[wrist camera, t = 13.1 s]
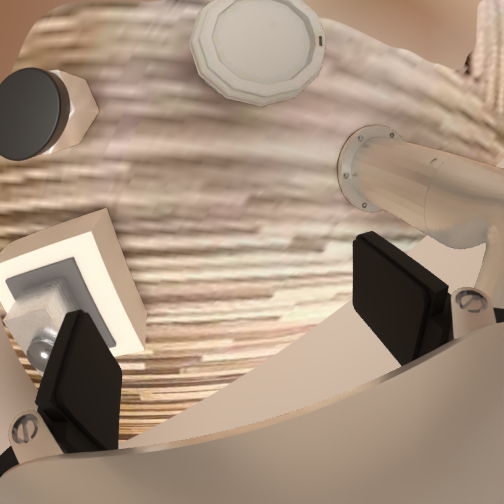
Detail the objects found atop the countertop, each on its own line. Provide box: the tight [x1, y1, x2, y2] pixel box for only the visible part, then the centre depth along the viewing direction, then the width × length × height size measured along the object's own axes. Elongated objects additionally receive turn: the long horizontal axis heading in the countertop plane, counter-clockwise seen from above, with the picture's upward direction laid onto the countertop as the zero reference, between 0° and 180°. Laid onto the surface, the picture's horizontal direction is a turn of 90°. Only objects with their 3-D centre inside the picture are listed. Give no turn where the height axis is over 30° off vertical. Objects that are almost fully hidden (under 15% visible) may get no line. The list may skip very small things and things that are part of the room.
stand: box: [0, 208, 147, 357], centre depth 33 cm, size 16×16×9 cm
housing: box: [3, 276, 80, 377], centre depth 26 cm, size 6×9×7 cm, turn 11°
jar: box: [0, 67, 99, 161], centre depth 23 cm, size 9×8×12 cm
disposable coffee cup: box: [189, 0, 326, 106], centre depth 24 cm, size 11×11×15 cm
